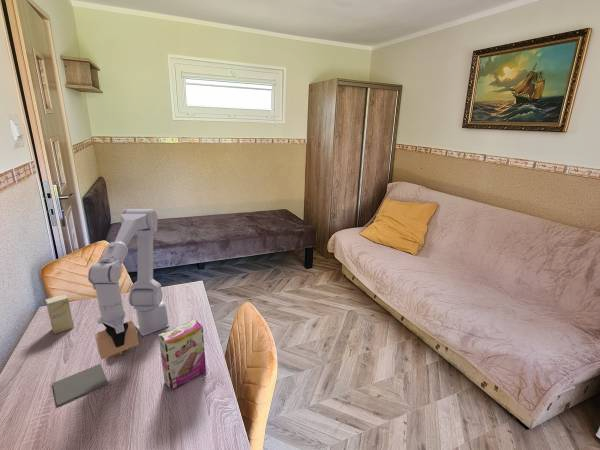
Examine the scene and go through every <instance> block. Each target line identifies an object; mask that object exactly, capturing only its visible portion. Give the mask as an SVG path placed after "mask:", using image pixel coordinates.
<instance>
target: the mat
mask: <svg viewBox="0 0 600 450" xmlns="http://www.w3.org/2000/svg"><path fill="white" fill-rule="evenodd" d="M107 385H109V381H108V378H107V377H106V374H105V371H104V369H103V367H102V364H101V363H99V364H96V365H93V366H91V367H89V368H87V369H84V370H81V371H79V372H77V373H74V374H71V375H69V376H67V377H63V378H62V379H59V380H57V381H54V382H52V386H53V391H54V397H55V401H56V407H60V406H62V405H64V404H66V403H68V402H71V401H73V400H75V399H78V398H80V397H82V396H84V395H86V394H89V393H92V392H93V391H95V390H98V389H101V388H102V387H105V386H107Z"/></svg>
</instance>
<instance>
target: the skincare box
mask: <svg viewBox="0 0 600 450" xmlns="http://www.w3.org/2000/svg"><path fill="white" fill-rule="evenodd" d="M45 304H46V308H47V312H48V316H49V320H50V321H49V322H50V326H51V329H52V333H53V334H54V335H55V334H57V333H61V332H64V331H67V330H70V329H73V328H75V325H74V319H73V315H72V310H71V307H70V301H69V298H68V295H67V293H64V294H59V295H56V296H53V297H49V298H45Z"/></svg>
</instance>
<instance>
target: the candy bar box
mask: <svg viewBox="0 0 600 450" xmlns="http://www.w3.org/2000/svg"><path fill="white" fill-rule="evenodd" d="M203 327H204V326H203V325H202V324H201V323H199V322H198V321H197V320H196V319H193V320H191V321H188V322H186V323H184V324H182V325H181V324H180V325H179V326H177V327H173V328H171V329H169V330H166V331H164V332H162V333H159V334H158V341H159V348H160V349H159V351H160V357H161V365H162V367H161V368H162V373H163V380H164V383H165V384H166V386H167V387H168V388H169V390H170V392H171V391H174V390H175V389H177V388H179V387H180V386H183V385H184V384H185V383H188V382H190V381H191V380H193V379H195V378H197V377H198V376H200V375H202V374H204V373H206V372H207V368H206V367H207V365H206V355H205V341H204V340H205V339H204V328H203Z"/></svg>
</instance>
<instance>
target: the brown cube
mask: <svg viewBox="0 0 600 450" xmlns="http://www.w3.org/2000/svg"><path fill="white" fill-rule="evenodd" d="M128 350H129V349H126V350H124V351H121V352H119V353H116V354H114V355H112V356H113V358H117V357H118V356H122V355H124V354H126V353H128V352H129V351H128Z"/></svg>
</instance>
